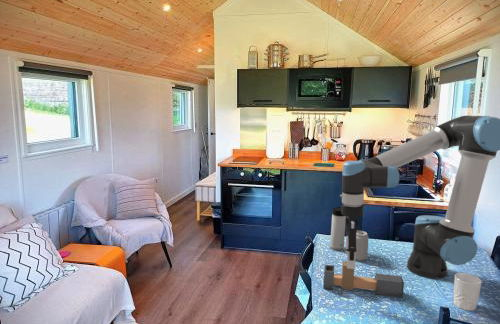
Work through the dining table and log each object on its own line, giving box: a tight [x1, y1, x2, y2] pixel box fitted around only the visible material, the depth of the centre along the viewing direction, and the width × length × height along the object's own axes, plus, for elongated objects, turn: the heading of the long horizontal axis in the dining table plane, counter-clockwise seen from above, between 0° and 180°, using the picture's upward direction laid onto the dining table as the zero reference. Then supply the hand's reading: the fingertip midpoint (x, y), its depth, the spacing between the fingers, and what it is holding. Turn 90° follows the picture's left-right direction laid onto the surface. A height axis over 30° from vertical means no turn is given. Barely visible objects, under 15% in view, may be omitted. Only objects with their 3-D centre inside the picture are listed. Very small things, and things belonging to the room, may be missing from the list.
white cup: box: [453, 272, 482, 312], centre depth 122 cm, size 8×8×10 cm
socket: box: [323, 264, 335, 291], centre depth 134 cm, size 4×6×7 cm, turn 167°
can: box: [355, 230, 370, 262], centre depth 159 cm, size 8×8×12 cm
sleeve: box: [374, 272, 405, 299], centre depth 130 cm, size 9×5×6 cm, turn 77°
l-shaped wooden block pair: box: [333, 260, 377, 291], centre depth 132 cm, size 18×4×9 cm, turn 77°
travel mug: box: [329, 206, 347, 252], centre depth 169 cm, size 6×7×20 cm
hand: (350, 260), depth 132 cm, fingers open, 13 cm apart
